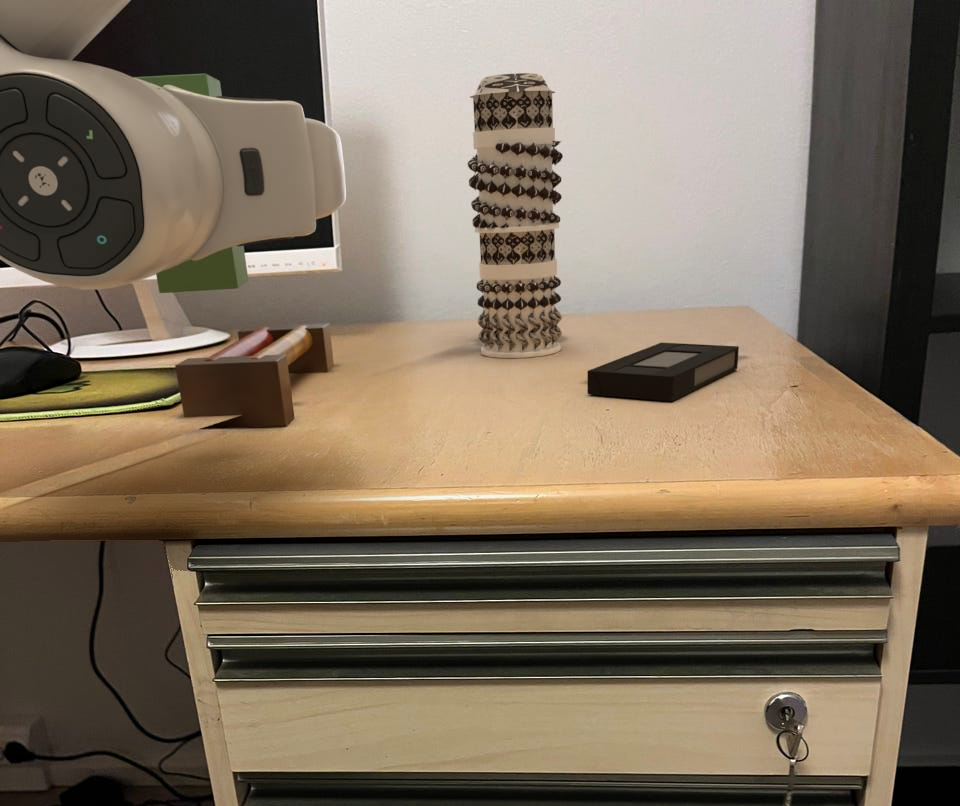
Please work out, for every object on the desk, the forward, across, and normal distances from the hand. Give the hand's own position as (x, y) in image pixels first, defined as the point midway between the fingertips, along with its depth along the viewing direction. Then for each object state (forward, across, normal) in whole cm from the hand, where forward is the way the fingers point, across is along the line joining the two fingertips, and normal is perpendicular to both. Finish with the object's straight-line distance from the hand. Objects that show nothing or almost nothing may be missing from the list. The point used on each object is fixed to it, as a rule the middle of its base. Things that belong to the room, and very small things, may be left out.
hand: (191, 176), depth 63 cm
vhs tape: (+14, +35, -18) cm, 41 cm away
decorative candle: (+34, +25, -18) cm, 46 cm away
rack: (+17, 0, -18) cm, 24 cm away
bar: (-1, 0, -7) cm, 7 cm away
